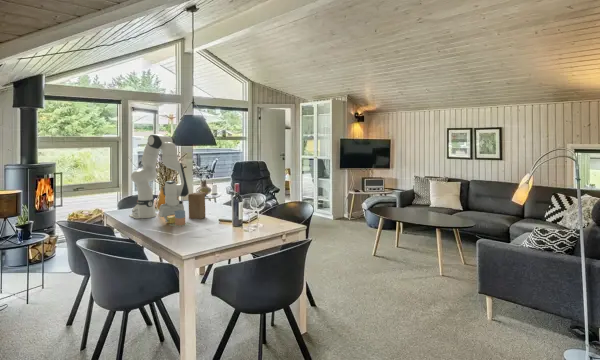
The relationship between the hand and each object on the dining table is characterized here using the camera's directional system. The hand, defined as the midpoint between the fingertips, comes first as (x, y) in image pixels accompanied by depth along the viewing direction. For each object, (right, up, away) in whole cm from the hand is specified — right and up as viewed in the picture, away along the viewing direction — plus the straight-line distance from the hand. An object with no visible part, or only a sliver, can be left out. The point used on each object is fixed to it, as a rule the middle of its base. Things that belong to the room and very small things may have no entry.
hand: (172, 220), depth 279 cm
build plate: (+8, -3, -7) cm, 11 cm away
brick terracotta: (+8, -2, -7) cm, 11 cm away
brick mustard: (0, -2, 0) cm, 2 cm away
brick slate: (+8, +3, -7) cm, 12 cm away
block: (+14, 0, +18) cm, 23 cm away
